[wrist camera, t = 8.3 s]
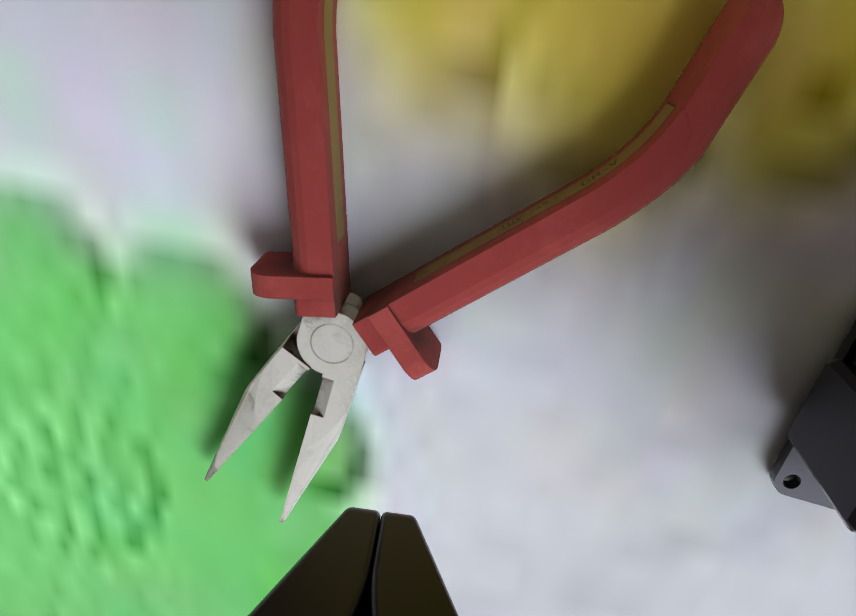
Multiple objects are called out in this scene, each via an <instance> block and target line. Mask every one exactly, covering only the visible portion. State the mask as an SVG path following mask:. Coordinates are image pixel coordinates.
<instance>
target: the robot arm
mask: <svg viewBox="0 0 856 616" xmlns="http://www.w3.org/2000/svg"><path fill="white" fill-rule="evenodd" d="M788 436H789V439H788V441H787V442H786V444H785V446H784V448H783V449H782V451H781V453H780V455H779V456H778V458H777V460H776V462H775V463H774V465H773V467H772V469H771V472H770V479H771V481H772V483H773V485H774V486H775V488H776V489H777V491H778V492H780V493H782V494H784V495H787V496H790V497H793V498H797V499H800V500H804V501H807V502H811V503H814V504H818V505H821V506H825V507H828V508H832V509H835V510H836V511H837V513H838V514H839V516H840V517H841V519H842V520H843V522H844V523H845V525H846V526H847V528H848V529H849V530H851V531H853V532H856V321H855V322H854V324H853V326H852V328H851V329H850V331H849V333H848V335H847V336H846V338H845V340H844V342H843V344H842V345H841V347H840V349H839V351H838V352H837V354H836V356H835V358H834V359H833V360H832V361H831V362H829V363H828V364H826V366H825V367H824V369H823V371H822V373H821V375H820V376H819V378H818V380H817V382H816V383H815V385H814V387H813V389H812V391H811V392H810V394H809V396H808V398H807V399H806V401H805V403H804V405H803V406H802V408H801V410H800V412H799V414H798V415H797V417H796V419H795V421H794V422H793V424H792V426H791V428H790V430H789V431H788ZM789 475H796V476H795V477H794V478H793V479H791V480H789V481H783V480H784V478H785V477H786V476H789ZM248 616H458V614H457V612H456V609H455V607H454V605H453V602H452V600H451V598H450V596H449V593H448V591H447V589H446V586H445V584H444V582H443V579H442V577H441V575H440V573H439V570H438V568H437V566H436V563H435V561H434V559H433V557H432V554H431V552H430V550H429V547H428V545H427V543H426V541H425V538H424V536H423V534H422V531H421V529H420V527H419V524H418V522H417V520H416V519H415V518H414V517H413V516H411V515H405V514H398V513H390V512H385V513H383V515H382V516H381V519H380V513H379V512H378V511H375V510H369V509H361V508H354V507H351V508H348V509H346V510H345V511H344V512H343V513H342V514H341V515H340V516H339V518H338V519H337V520H336V521H335V522H334V523H333V524H332V525H331V526H330V527H329V528H328V529H327V531H326V532H325V533H324V534H323V535H322V536H321V537H320V538H319V539H318V540H317V541H316V542H315V544H314V545H313V546H312V547H311V548H310V549H309V550H308V551H307V552H306V553H305V554H304V555H303V557H302V558H301V559H300V560H299V561H298V562H297V563H296V564H295V565H294V566H293V567H292V568H291V570H290V571H289V572H288V573H287V574H286V575H285V576H284V577H283V578H282V579H281V580H280V581H279V583H278V584H277V585H276V586H275V587H274V588H273V589H272V590H271V591H270V592H269V593H268V594H267V596H266V597H265V598H264V599H263V600H262V601H261V602H260V603H259V604H258V605H257V606H256V607H255V609H254V610H253V611H252V612H251V613H250V614H249V615H248Z"/></svg>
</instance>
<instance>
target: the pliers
mask: <svg viewBox="0 0 856 616" xmlns="http://www.w3.org/2000/svg"><path fill="white" fill-rule="evenodd" d="M336 9H337V0H273V37H274V48H275V59H276V71H277V82H278V94H279V105H280V116H281V128H282V139H283V151H284V162H285V174H286V185H287V196H288V208H289V219H290V231H291V242H292V252H267V253H265V254H264V255H263V256H262V257H261V258H260V259H259V260H258V261H257V262H256V263H255V264H254V265H253V266H252V267H251V278H252V287H253V293H254V294H255V295H256V296H259V297H263V298H273V299H294V300H295V311H296V315H297V316H303V317H302V320H301V321H300V322H299V324H298V325H297V326H296V327H295V328H294V330H293V331H292V332H291V333H290V334H289V336H288V337H287V338H286V339H285V340H284V342H283V343H282V344H281V345H280V346H279V348H278V349H277V350H276V351H275V352H274V354H273V355H272V356H271V357H270V359H269V360H268V361H267V362H266V363H265V365H264V366H263V367H262V368H261V370H260V371H259V372H258V373H257V375H256V376H255V377H254V378H253V380H252V381H251V382H250V384H249V385H248V386H247V388H246V389H245V392H244V394H243V396H242V398H241V400H240V402H239V405H238V407H237V409H236V411H235V413H234V416H233V418H232V420H231V422H230V424H229V426H228V429H227V431H226V433H225V435H224V437H223V440H222V442H221V444H220V446H219V448H218V451H217V453H216V455H215V457H214V459H213V461H212V464H211V466H210V468H209V470H208V472H207V475H206V477H205V480H206V481H208V480H209V479H210V478H211V477H212V475H213V474H214V473H215V472H216V471H217V470H218V469H219V468H220V467H221V466H222V465H223V464H224V462H225V461H226V460H227V459H228V458H229V457H230V456H231V455H232V454H233V453H234V452H235V451H236V450H237V448H238V447H239V446H240V445H241V444H242V443H243V442H244V441H245V440H246V439H247V438H248V437H249V436H250V434H251V433H252V432H253V431H254V430H255V429H256V428H257V427H258V426H259V425H260V424H261V423H262V421H263V420H264V419H265V418H266V417H267V416H268V415H269V414H270V413H271V411H272V410H273V409H274V408H275V407H276V406H277V405H278V404H279V403H280V401H281V400H282V399H283V398H284V396H285V394H286V393H287V391H288V390H289V389H290V388H291V387H292V385H293V384H294V383H295V382H296V381H297V380H298V379H299V378H300V377H301V375H302V374H303V373H304V372H305V371H306V370H309V369H310V368H312V369H314V370H315V371H317V372H319V373H322V374H323V375H322V377H323V380H322V383H321V387H320V390H319V394H318V397H317V400H316V404H315V406H314V408H313V410H312V413H311V415H310V418H309V422H308V425H307V429H306V432H305V436H304V439H303V442H302V446H301V449H300V453H299V456H298V460H297V463H296V467H295V470H294V474H293V477H292V481H291V484H290V488H289V491H288V495H287V499H286V502H285V506H284V509H283V513H282V516H281V520H280V522H284V521H285V519H286V518H287V516H288V515H289V513H290V512H291V510H292V509H293V507H294V506H295V504H296V503H297V501H298V500H299V498H300V496H301V495H302V493H303V492H304V490H305V489H306V487H307V486H308V484H309V483H310V481H311V480H312V478H313V477H314V475H315V474H316V472H317V471H318V469H319V468H320V466H321V465H322V463H323V462H324V460H325V459H326V457H327V456H328V454H329V452H330V451H331V449H332V448H333V446H334V445H335V443H336V442H337V440H338V439H339V436H340V434H341V431H342V429H343V426H344V423H345V420H346V417H347V414H348V411H349V409H350V406H351V403H352V400H353V397H354V394H355V391H356V388H357V385H358V382H359V379H360V376H361V373H362V370H363V367H364V364H365V361H364V360H365V357H366V354H367V351H368V348H369V349H370V351H371V352H372V354H373V355H375V356H376V355H378V354H380V353H382V352H384V351H386V350H388V349H390V351H391V352H392V354H393V355H394V357H395V358H396V359H397V361H398V362H399V364H400V365H401V367H402V368H403V370H404V371H405V372H406V373H407V374H408V375H409V376H410V377H411V378H412V379H414V380H417V379H419V378H421V377H423V376H425V375H427V374H429V373H430V372H432V371H434V370H436V369H437V368H438V363H439V358H440V352H441V343H440V342H439V340H438V339H437V337H436V336H435V334H434V333H433V331H432V330H431V328H430V327H429V325H430V324H432V323H434V322H436V321H438V320H440V319H442V318H443V317H445V316H447V315H449V314H451V313H453V312H455V311H457V310H458V309H460V308H462V307H464V306H466V305H468V304H470V303H472V302H474V301H475V300H477V299H479V298H481V297H483V296H485V295H487V294H489V293H490V292H492V291H494V290H496V289H498V288H500V287H502V286H504V285H505V284H507V283H509V282H511V281H513V280H515V279H517V278H519V277H520V276H522V275H524V274H526V273H528V272H530V271H532V270H534V269H535V268H537V267H539V266H541V265H543V264H545V263H547V262H549V261H551V260H552V259H554V258H556V257H558V256H560V255H562V254H564V253H566V252H567V251H569V250H571V249H573V248H575V247H577V246H579V245H581V244H582V243H584V242H586V241H588V240H590V239H592V238H594V237H596V236H597V235H599V234H601V233H603V232H605V231H607V230H609V229H611V228H612V227H614V226H616V225H617V224H619V223H621V222H622V221H624V220H625V219H627V218H629V217H630V216H632V215H633V214H635V213H636V212H638V211H639V210H641V209H642V208H643V207H645V206H646V205H648V204H649V203H650V202H652V201H653V200H655V199H656V198H657V197H659V196H660V195H661V194H662V193H664V192H665V191H666V190H667V189H669V188H670V187H671V186H672V185H674V184H675V183H676V182H677V181H678V180H679V179H680V178H681V177H682V176H683V175H684V174H685V173H686V172H687V171H688V170H689V169H690V168H691V167H692V166H693V165H694V164H695V163H696V162H697V161H698V160H699V159H700V158H701V157H702V155H703V153H704V152H705V150H706V149H707V147H708V146H709V144H710V143H711V141H712V140H713V138H714V137H715V135H716V134H717V132H718V130H719V129H720V127H721V126H722V124H723V123H724V121H725V120H726V118H727V117H728V115H729V114H730V112H731V111H732V109H733V107H734V106H735V104H736V103H737V101H738V100H739V98H740V97H741V95H742V94H743V92H744V91H745V89H746V88H747V86H748V84H749V83H750V81H751V80H752V78H753V77H754V75H755V74H756V72H757V71H758V69H759V68H760V66H761V64H762V63H763V61H764V60H765V58H766V57H767V55H768V54H769V52H770V51H771V49H772V48H773V47H774V45H775V43H776V40H777V38H778V36H779V34H780V30H781V27H782V23H783V16H784V9H783V2H782V0H729V1H728V2H727V4H726V5H725V7H724V8H723V10H722V11H721V13H720V15H719V16H718V18H717V19H716V21H715V22H714V24H713V26H712V27H711V29H710V30H709V32H708V33H707V35H706V36H705V38H704V40H703V41H702V43H701V44H700V46H699V48H698V49H697V51H696V52H695V54H694V56H693V57H692V59H691V60H690V62H689V63H688V65H687V67H686V68H685V70H684V71H683V73H682V75H681V76H680V78H679V79H678V81H677V83H676V84H675V86H674V87H673V89H672V90H671V92H670V94H669V95H668V97H667V98H666V100H665V102H664V103H663V104H662V106H661V107H660V108H659V109H658V111H657V112H656V113H655V115H654V116H653V117H652V118H651V120H650V121H649V122H648V123H647V124H646V125H645V126H644V127H643V128H642V129H641V131H640V132H639V133H638V134H637V135H636V136H635V137H634V138H633V139H632V140H631V141H629V142H628V143H627V144H626V145H625V146H624V147H623V148H621V149H620V150H619V151H618V152H617V153H615V154H614V155H613V156H611V157H610V158H609V159H607V160H606V161H605V162H603V163H602V164H600V165H599V166H597V167H596V168H594V169H593V170H591V171H590V172H588V173H587V174H585V175H584V176H582V177H580V178H578V179H577V180H575V181H573V182H571V183H570V184H568V185H566V186H564V187H562V188H561V189H559V190H557V191H555V192H553V193H552V194H550V195H548V196H546V197H545V198H543V199H541V200H539V201H537V202H536V203H534V204H532V205H530V206H529V207H527V208H525V209H523V210H521V211H520V212H518V213H516V214H514V215H512V216H511V217H509V218H507V219H505V220H504V221H502V222H500V223H498V224H496V225H495V226H493V227H491V228H489V229H487V230H486V231H484V232H482V233H480V234H479V235H477V236H475V237H473V238H471V239H470V240H468V241H466V242H464V243H462V244H461V245H459V246H457V247H455V248H454V249H452V250H450V251H448V252H446V253H445V254H443V255H441V256H439V257H438V258H436V259H434V260H432V261H430V262H429V263H427V264H425V265H423V266H421V267H420V268H418V269H416V270H414V271H413V272H411V273H409V274H407V275H405V276H404V277H402V278H400V279H398V280H397V281H395V282H393V283H391V284H390V285H388V286H386V287H384V288H383V289H381V290H379V291H377V292H376V293H374V294H372V295H370V296H368V297H367V298H365V300H363V299H362V298H361V297H359V296H358V295H356V294H354V293H351V289H350V274H349V250H348V233H347V215H346V198H345V180H344V163H343V145H342V127H341V110H340V92H339V75H338V57H337V39H336Z"/></svg>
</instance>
